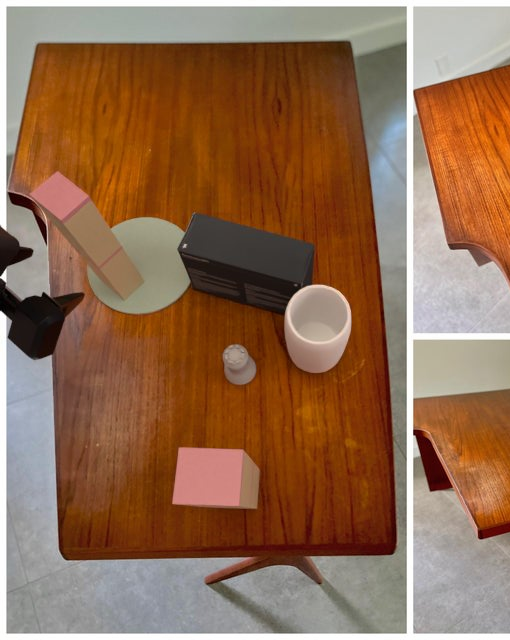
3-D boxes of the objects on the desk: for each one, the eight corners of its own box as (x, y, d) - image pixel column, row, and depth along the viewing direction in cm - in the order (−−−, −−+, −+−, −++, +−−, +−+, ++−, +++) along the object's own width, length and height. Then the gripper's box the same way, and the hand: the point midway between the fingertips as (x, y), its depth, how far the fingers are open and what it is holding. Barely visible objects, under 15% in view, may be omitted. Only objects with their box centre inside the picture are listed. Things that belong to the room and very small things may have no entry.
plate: (97, 327, 76) (96, 326, 76) (80, 233, 82) (79, 231, 81) (207, 298, 79) (206, 297, 78) (183, 208, 84) (183, 206, 83)
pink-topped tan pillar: (125, 300, 77) (60, 220, 56) (100, 280, 78) (28, 194, 57) (145, 281, 79) (89, 195, 58) (121, 261, 80) (57, 170, 58)
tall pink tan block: (210, 507, 69) (171, 504, 48) (214, 467, 70) (178, 446, 49) (257, 509, 69) (239, 506, 48) (260, 468, 71) (243, 449, 50)
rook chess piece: (228, 389, 74) (220, 375, 67) (221, 359, 76) (213, 342, 68) (259, 381, 75) (255, 366, 67) (252, 351, 76) (247, 333, 69)
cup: (277, 332, 77) (273, 294, 64) (331, 313, 79) (338, 272, 65) (297, 386, 75) (297, 358, 61) (353, 365, 76) (364, 334, 63)
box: (314, 280, 80) (316, 242, 69) (301, 320, 78) (302, 287, 67) (207, 251, 81) (193, 209, 70) (192, 290, 79) (174, 252, 68)
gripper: (2, 296, 46) (132, 265, 60) (-130, 178, 50) (20, 174, 63) (-21, 385, 51) (103, 338, 65) (-140, 272, 55) (1, 250, 69)
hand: (57, 273), depth 65 cm, fingers open, 9 cm apart
